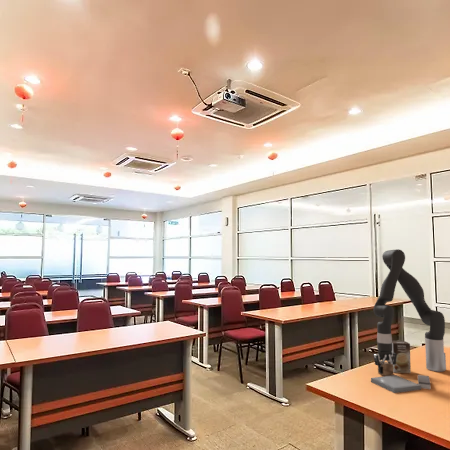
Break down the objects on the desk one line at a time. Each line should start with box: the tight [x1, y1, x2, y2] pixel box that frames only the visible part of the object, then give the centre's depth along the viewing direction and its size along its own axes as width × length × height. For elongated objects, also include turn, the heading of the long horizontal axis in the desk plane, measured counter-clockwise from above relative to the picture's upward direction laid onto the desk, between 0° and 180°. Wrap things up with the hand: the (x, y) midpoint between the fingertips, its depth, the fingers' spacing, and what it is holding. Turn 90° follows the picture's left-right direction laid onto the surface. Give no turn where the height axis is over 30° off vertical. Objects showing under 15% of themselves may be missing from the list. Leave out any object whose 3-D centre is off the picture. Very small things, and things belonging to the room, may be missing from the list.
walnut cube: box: [377, 361, 395, 377], centre depth 200 cm, size 6×6×6 cm
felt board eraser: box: [417, 374, 431, 390], centre depth 184 cm, size 12×5×3 cm, turn 155°
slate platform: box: [370, 374, 422, 394], centre depth 182 cm, size 16×16×2 cm
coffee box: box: [392, 340, 412, 374], centre depth 206 cm, size 9×6×16 cm
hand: (385, 372), depth 200 cm, fingers closed on walnut cube, 5 cm apart
